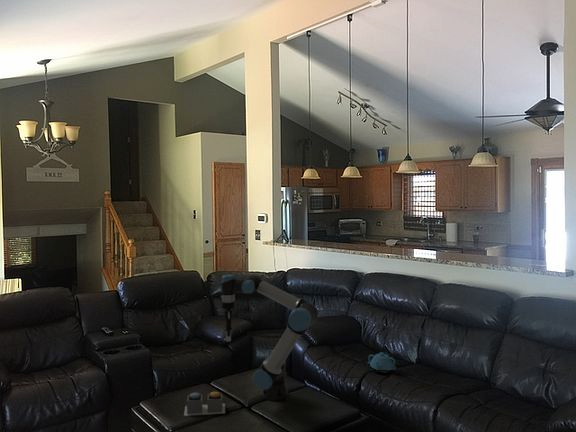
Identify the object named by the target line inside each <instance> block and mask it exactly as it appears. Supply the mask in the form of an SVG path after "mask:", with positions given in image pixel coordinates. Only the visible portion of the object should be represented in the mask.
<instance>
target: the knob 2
mask: <svg viewBox="0 0 576 432" xmlns="http://www.w3.org/2000/svg"><path fill="white" fill-rule="evenodd" d="M220 393H221V392H220V391H212V392H210V393H209V394H210V397H211V399H219V396H220Z"/></svg>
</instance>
